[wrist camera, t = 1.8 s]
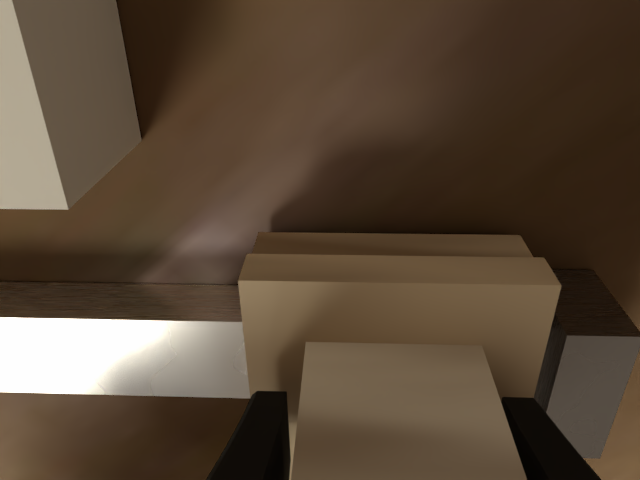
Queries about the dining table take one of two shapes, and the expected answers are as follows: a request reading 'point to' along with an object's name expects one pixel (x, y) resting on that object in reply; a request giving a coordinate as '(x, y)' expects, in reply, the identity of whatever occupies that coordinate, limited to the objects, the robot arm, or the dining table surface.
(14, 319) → the gray block handle
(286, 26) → the dining table surface
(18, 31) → the frame
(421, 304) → the carriage
